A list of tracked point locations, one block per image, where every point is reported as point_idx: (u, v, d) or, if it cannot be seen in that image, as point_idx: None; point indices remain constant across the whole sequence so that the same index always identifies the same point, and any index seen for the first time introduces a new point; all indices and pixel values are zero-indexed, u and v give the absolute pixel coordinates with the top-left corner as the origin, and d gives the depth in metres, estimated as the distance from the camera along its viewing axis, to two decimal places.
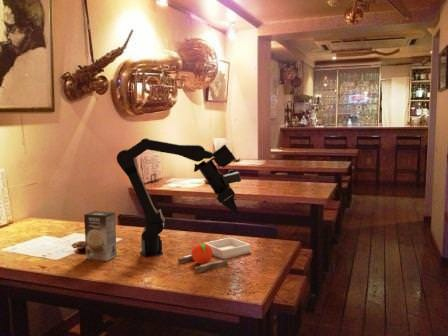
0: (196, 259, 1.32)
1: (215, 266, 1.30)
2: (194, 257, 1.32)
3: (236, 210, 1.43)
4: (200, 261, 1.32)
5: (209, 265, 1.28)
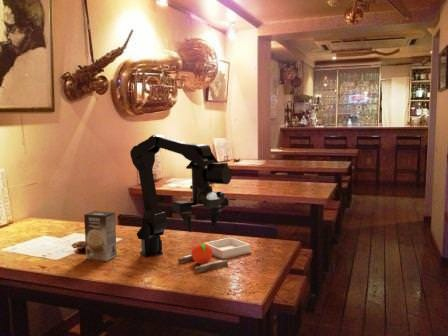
0: (196, 259, 1.32)
1: (215, 266, 1.30)
2: (194, 257, 1.32)
3: (188, 228, 1.30)
4: (200, 261, 1.32)
5: (209, 265, 1.28)
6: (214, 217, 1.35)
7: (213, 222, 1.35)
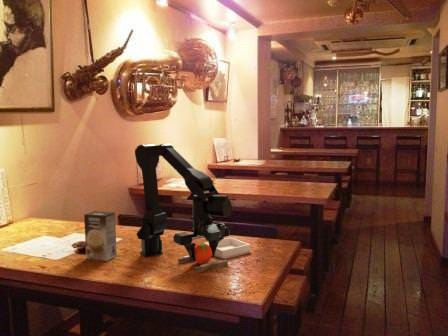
0: (196, 259, 1.32)
1: (215, 266, 1.30)
2: None
3: (192, 259, 1.32)
4: (200, 261, 1.32)
5: (209, 265, 1.28)
6: (212, 248, 1.35)
7: None
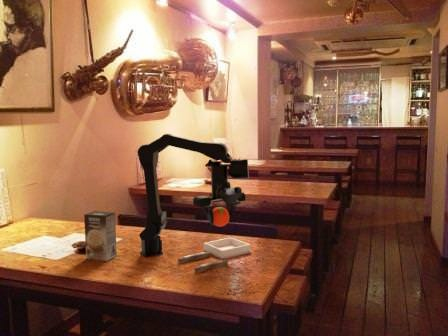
0: (214, 221, 1.40)
1: (215, 266, 1.30)
2: None
3: (210, 221, 1.40)
4: (218, 223, 1.40)
5: (209, 265, 1.28)
6: (230, 212, 1.43)
7: None
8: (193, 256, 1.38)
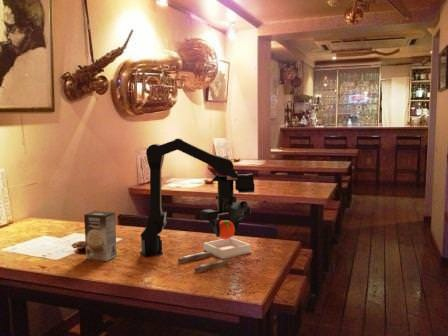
0: (220, 234, 1.44)
1: (215, 266, 1.30)
2: None
3: (216, 234, 1.44)
4: (224, 236, 1.44)
5: (209, 265, 1.28)
6: (235, 225, 1.48)
7: None
8: (193, 256, 1.38)
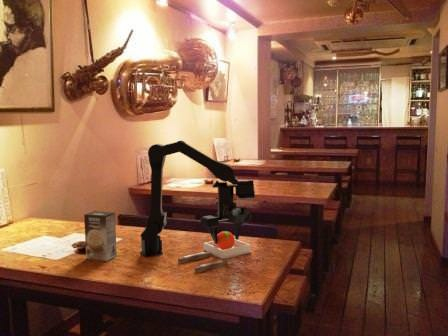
0: (220, 245, 1.44)
1: (215, 266, 1.30)
2: (218, 244, 1.45)
3: (214, 241, 1.44)
4: (224, 247, 1.44)
5: (209, 265, 1.28)
6: (237, 230, 1.48)
7: (236, 235, 1.49)
8: (193, 256, 1.38)
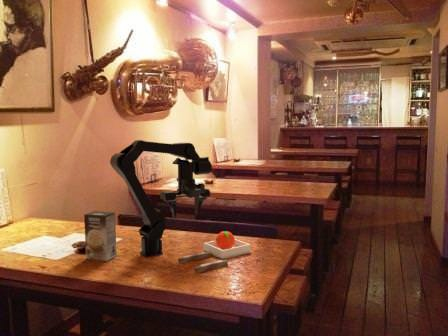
0: (220, 245, 1.44)
1: (215, 266, 1.30)
2: (218, 244, 1.45)
3: (173, 215, 1.51)
4: (224, 247, 1.44)
5: (209, 265, 1.28)
6: (197, 206, 1.55)
7: (196, 210, 1.56)
8: (193, 256, 1.38)
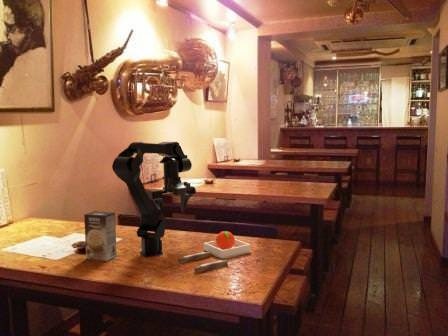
0: (220, 245, 1.44)
1: (215, 266, 1.30)
2: (218, 244, 1.45)
3: None
4: (224, 247, 1.44)
5: (209, 265, 1.28)
6: (183, 203, 1.59)
7: (182, 208, 1.59)
8: (193, 256, 1.38)
